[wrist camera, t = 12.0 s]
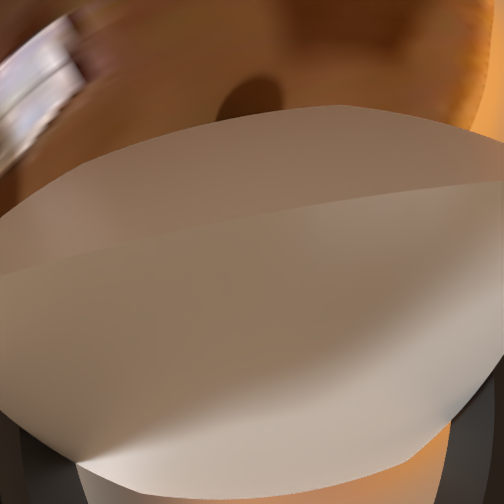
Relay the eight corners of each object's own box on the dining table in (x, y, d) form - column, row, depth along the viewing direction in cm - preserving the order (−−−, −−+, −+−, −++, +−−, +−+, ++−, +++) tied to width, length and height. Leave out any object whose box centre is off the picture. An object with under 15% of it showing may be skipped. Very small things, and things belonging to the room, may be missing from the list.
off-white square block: (83, 163, 9) (-86, 304, 2) (340, 104, 9) (571, 176, 1) (162, 341, 14) (140, 493, 7) (346, 310, 14) (406, 461, 7)
